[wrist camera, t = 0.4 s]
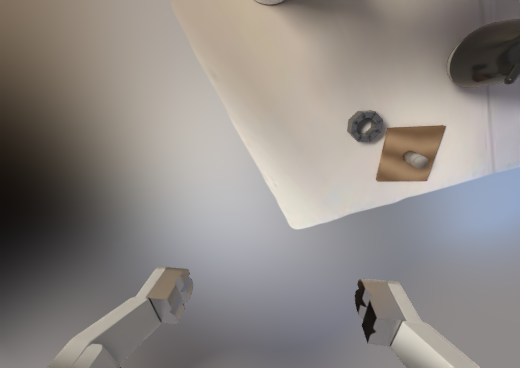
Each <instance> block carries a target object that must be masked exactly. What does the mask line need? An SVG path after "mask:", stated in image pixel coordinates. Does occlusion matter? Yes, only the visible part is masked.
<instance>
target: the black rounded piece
mask: <svg viewBox="0 0 520 368" xmlns="http://www.w3.org/2000/svg"><path fill="white" fill-rule="evenodd" d="M447 74H448V76H449V78H450V79H451V80H452V81H453V82H455V83H456V84H457V85H459V86H461V87H467V88H474V87H482V86H488V85H494V84H498V83H502V82H504V83H505V84H512V83H513V82H514V81H515V80H516V79H517V78H518V77H520V19H512V20H505V21H499V22H495V23H491V24H488V25H485V26H483V27H480V28H478V29H477V30H475V31H473V32H472V33H471V34H469V35H468V36H467V37H466V38H465V39H463V40H462V41H461V42H460V43H459V44H458V45H457V46H456V47H455V49H454V50H453V51H452V53H451V55H450V57H449V59H448V62H447Z"/></svg>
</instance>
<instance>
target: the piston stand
mask: <svg viewBox="0 0 520 368" xmlns="http://www.w3.org/2000/svg"><path fill="white" fill-rule="evenodd" d="M445 127H446V126H443V125H441V126H419V127H396V128H387V132H386V137H385V141H384V146H383V150H382V155H381V159H380V164H379V168H378V173H377V177H376V180H377V181H427V178H428V175H429V172H430V169H431V166H432V164H433V161H434V158H435V155H436V152H437V149H438V146H439V144H440V141H441V138H442V135H443V132H444V129H445Z"/></svg>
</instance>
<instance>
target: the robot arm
mask: <svg viewBox="0 0 520 368" xmlns="http://www.w3.org/2000/svg"><path fill="white" fill-rule="evenodd" d="M255 1H257V2H259V3H262V4H277V3H280V2H282V1H284V0H255ZM189 274H190V272H189V270H188V269H182V268H171V267H158V268H156V269H155V271H154V272H153V273H152V275H151V276H150V277H149V279H148V280H147V282H146V283H145V284H144V286H143V287H142V288H141V290H140V291H139V293H138V294H137V296H136V297H132V298H130V299H129V300H127V301H126V302H124V303H123V304H122V305H120V306H119V307H117V308H116V309H114V310H113V311H111V312H110V313H109V314H107V315H106V316H104V317H103V318H101V319H100V320H98V321H97V322H96V323H94V324H93V325H91V326H90V327H88V328H87V329H85V330H84V331H82V332H81V333H79V334H78V335H77V336H75V337H74V338H72V339H71V340H70V341H69V342H68V343H67V345H66V346H65V347H64V348H63V349H62V350H61V352H60V353H59V354H58V355H57V356H56V357H55V359H54V360H53V361H52V362H51V363H50V364H49V366H48V367H47V368H121V367H120V366H119V365H120V364H121V363H122V362H123V361H124V360H125V359H126V358H127V357H128V356H129V355H130V354H131V353H132V352H133V351H134V350H135V349H136V348H137V347H138V346H139V345H140V344H141V343H142V342H143V341H144V340H145V339H146V338H147V337H148V336H149V335H150V334H151V333H152V332H153V331H154V330H155V329H156V328H157V327H158V326H159V325H160V324H161V323H162V322H163V323H176V324H178V323H179V320H180V318H181V316H182V314H183V312H184V310H185V307H184V304H185V302H187V301H188V300H189V299H190V296H191V294H192V290H193V281H192V279H191V278H190V277H188V276H189ZM357 285H358V288H359V289H358V290H356V292H355V304H356V309H357V312H358V315H359V316H360V317H361V318H362V319H363V323H362V328H363V331H364V334H365V337H366V340H367V343H368V344H374V345H382V346H389V347H390V348H391V349H392V351H393V352H394V353H395V354H396V355H397V357H398V358H399V359H400V360H401V362H402V363H403V364H404V365H405V366H406V367H407V368H480V367H479V366H478V365H477V364H476V363H474V362H473V361H472V360H471V359H469V358H468V357H467V356H466V355H465V354H463V353H462V352H461V351H460V350H459V349H457V348H456V347H455V346H454V345H453V344H451V343H450V342H449V341H448V340H447V339H445V338H444V337H443V336H442V335H441V334H439V333H438V332H437V331H436V330H435V329H433V328H432V327H431V326H430V325H429V324H427V323H423V322H422V321H421V319H420V317H419V315H418V314H417V312H416V310H415V309H414V307H413V305H412V304H411V302H410V300H409V299H408V297H407V295H406V293H405V292H404V290H403V288H402V287H401V285H400V284H399V283H398V282H397V281H383V280H367V279H360V280H359V281H358V284H357Z"/></svg>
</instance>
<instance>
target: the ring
mask: <svg viewBox="0 0 520 368" xmlns="http://www.w3.org/2000/svg"><path fill="white" fill-rule="evenodd" d="M363 118H370V119H371V120H372V122H371V128H370V129H369V130H368V131H366V132H365V133H361V134H358V132H357V124H358V123H359V122H360V121H361V120H362V119H363ZM382 123H383V120H382V118H381V117H380V116H379V115H378V114H377V113H376V112H375V111H371V110H368V111H358V112H357V113H356V114H355V115H353V116H352V117H351V118H350V119H349V121H348V129H347V131H348V133H349V134H350V135H351V136H352V137H353V138H354V139H355V140H357V141H371V140H372V139H373V138H374V137H376V136H377V135H378V134H379V133H381V128H382Z"/></svg>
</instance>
